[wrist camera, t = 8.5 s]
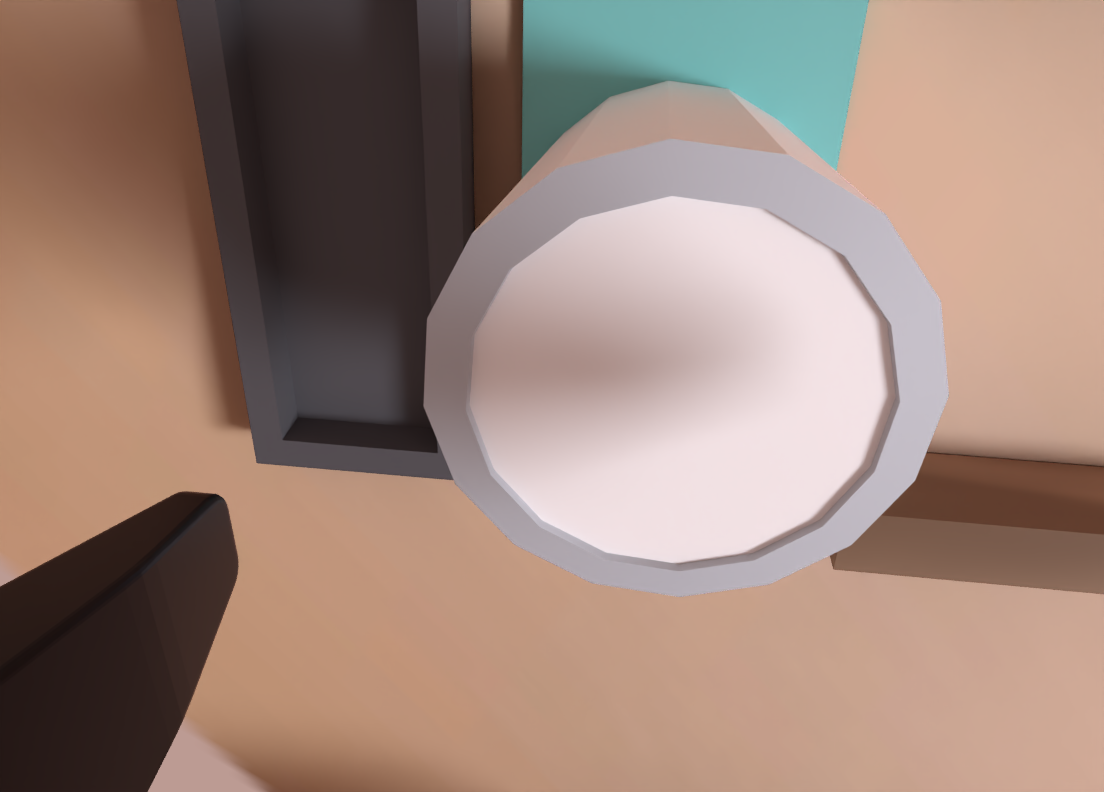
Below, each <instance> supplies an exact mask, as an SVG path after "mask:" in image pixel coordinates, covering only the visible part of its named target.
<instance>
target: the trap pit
mask: <svg viewBox="0 0 1104 792" xmlns="http://www.w3.org/2000/svg"><path fill="white" fill-rule="evenodd" d="M177 5H178V11H179V17H180V22H181V28H182V34H183V40H184V46H185V51H186V57H187V63H188V69H189V74H190V80H191V86H192V92H193V98H194V103H195V109H196V115H197V121H198V126H199V132H200V138H201V144H202V150H203V155H204V161H205V167H206V173H207V178H208V184H209V190H210V196H211V202H212V207H213V213H214V219H215V225H216V231H217V236H218V242H219V248H220V254H221V259H222V265H223V271H224V277H225V283H226V288H227V294H228V300H229V306H230V311H231V317H232V323H233V329H234V335H235V340H236V346H237V352H238V358H239V363H240V369H241V375H242V381H243V387H244V392H245V398H246V404H247V410H248V416H249V421H250V427H251V433H252V439H253V444H254V450H255V456H256V462H257V463H261V464H273V465H284V466H296V467H307V468H319V469H331V470H342V471H354V472H365V473H377V474H388V475H400V476H411V477H423V478H434V479H446V480H454V479H453V477H452V475H451V472H450V470H449V467H448V465H447V462H446V460H445V457H444V455H443V453H442V450H441V448H440V445H439V443H438V440H437V438H436V435H435V433H434V431H433V428H432V426H431V423H430V421H429V418H428V416H427V413H426V411H425V409H424V382H425V357H426V333H427V318H428V316H429V314H430V312H431V310H432V308H433V306H434V305H435V303H436V301H437V299H438V297H439V295H440V293H441V291H442V289H443V288H444V286H445V284H446V282H447V280H448V278H449V276H450V274H451V272H452V271H453V269H454V267H455V265H456V263H457V261H458V259H459V257H460V255H461V253H462V252H463V250H464V248H465V246H466V244H467V242H468V240H469V238H470V236H471V235H472V233H473V232H474V231H475V217H474V163H473V109H472V54H471V0H177Z"/></svg>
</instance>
